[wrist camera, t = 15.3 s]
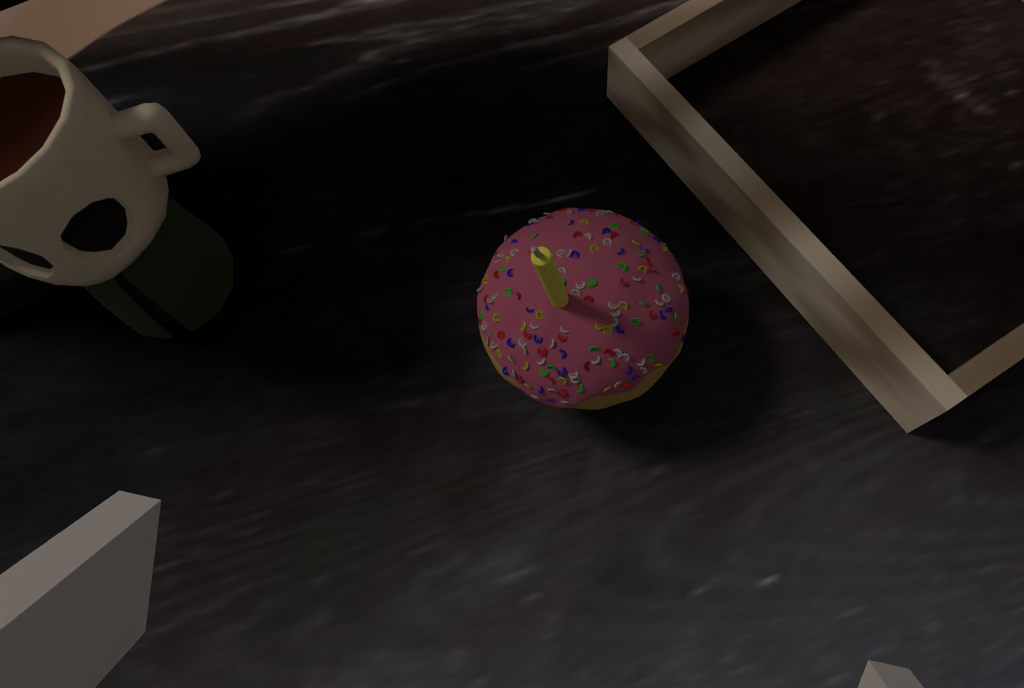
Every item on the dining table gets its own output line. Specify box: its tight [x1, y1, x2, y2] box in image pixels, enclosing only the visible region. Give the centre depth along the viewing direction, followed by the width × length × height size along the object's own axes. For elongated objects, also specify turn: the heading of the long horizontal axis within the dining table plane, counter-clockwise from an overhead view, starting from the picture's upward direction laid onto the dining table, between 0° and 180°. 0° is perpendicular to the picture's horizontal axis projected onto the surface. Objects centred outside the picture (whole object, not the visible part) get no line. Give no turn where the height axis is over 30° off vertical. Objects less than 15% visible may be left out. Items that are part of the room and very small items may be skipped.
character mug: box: [0, 36, 234, 339], centre depth 29 cm, size 11×7×13 cm, turn 107°
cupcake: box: [477, 208, 689, 410], centre depth 27 cm, size 9×8×12 cm
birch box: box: [607, 0, 1024, 433], centre depth 33 cm, size 22×22×4 cm
